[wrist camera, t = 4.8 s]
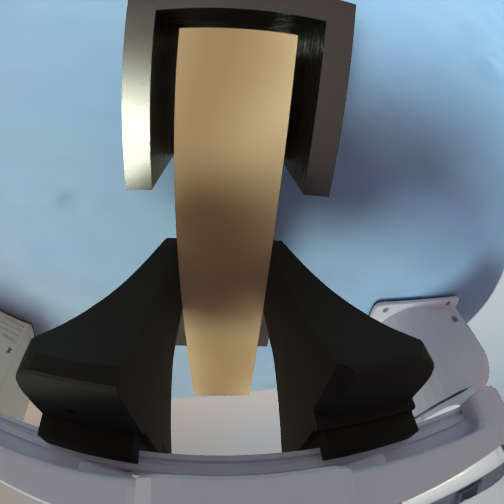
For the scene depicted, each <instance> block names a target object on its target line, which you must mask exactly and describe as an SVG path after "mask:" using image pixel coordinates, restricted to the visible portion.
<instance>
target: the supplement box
mask: <svg viewBox="0 0 504 504" xmlns="http://www.w3.org/2000/svg"><path fill="white" fill-rule="evenodd" d="M32 338H34V332H33V329H32V325H31V324H28V323H25V322H22V321H20V320H18V319H16V318H13V317H11V316H9V315H7V314H5V313H3V312H1V311H0V412H1V413H3V414H5V415H8V416H10V417H13V418H15V419H18V420H20V421H23V420H24V416H25V413H26V410H27V407H28V404H29V400H30V399H29V398H28V397H27V396H26V395H25V394H24V393H23V392H22V390H21V389H20V387H19V386H18V383H17V381H16V378H15V377H16V372H17V370H18V367H19V365H20V363H21V360H22V358H23V356H24V353H25V351H26V349H27V347H28V345H29V342H30V341H31V339H32Z"/></svg>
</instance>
